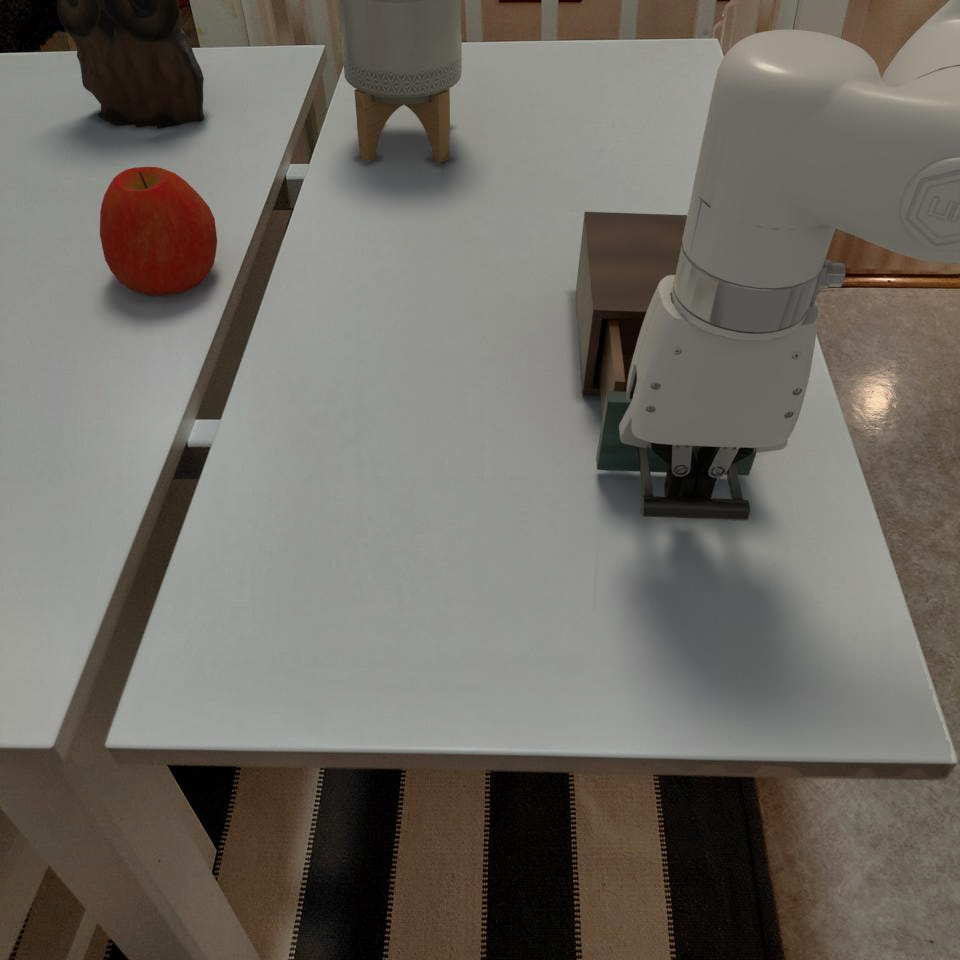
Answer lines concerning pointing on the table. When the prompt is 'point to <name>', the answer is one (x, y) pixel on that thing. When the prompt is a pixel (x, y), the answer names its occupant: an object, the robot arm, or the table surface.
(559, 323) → the table surface
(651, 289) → the cabinet
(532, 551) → the table surface
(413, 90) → the planter
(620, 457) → the drawer
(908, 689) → the table surface
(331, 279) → the table surface
